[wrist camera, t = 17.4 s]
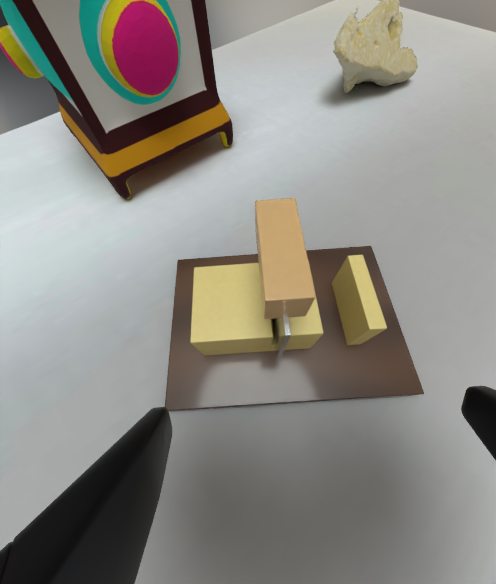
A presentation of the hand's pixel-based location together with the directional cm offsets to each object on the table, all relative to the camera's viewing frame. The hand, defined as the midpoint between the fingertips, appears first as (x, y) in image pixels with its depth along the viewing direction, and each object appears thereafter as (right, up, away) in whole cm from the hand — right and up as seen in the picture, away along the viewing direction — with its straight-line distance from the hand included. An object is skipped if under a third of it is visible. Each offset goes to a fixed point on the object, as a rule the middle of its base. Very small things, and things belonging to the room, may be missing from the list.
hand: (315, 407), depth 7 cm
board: (+1, +1, +15) cm, 15 cm away
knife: (0, +2, +12) cm, 12 cm away
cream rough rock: (+17, +37, +32) cm, 51 cm away
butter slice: (+7, +2, +14) cm, 16 cm away
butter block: (-1, +1, +14) cm, 14 cm away
